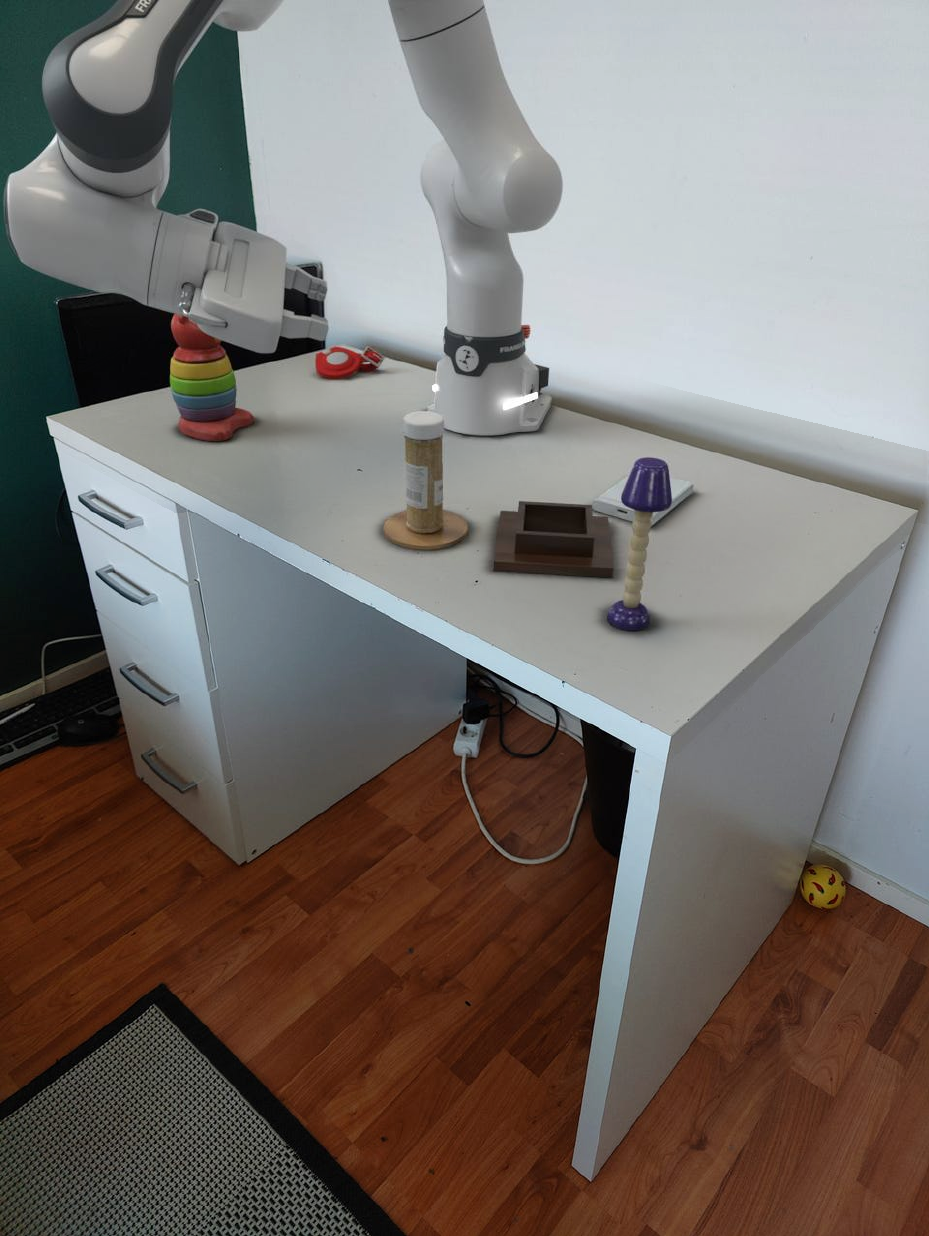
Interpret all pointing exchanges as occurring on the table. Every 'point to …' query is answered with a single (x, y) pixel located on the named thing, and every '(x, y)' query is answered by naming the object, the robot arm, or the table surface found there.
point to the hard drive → (615, 507)
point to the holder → (554, 540)
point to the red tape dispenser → (346, 362)
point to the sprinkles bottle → (424, 471)
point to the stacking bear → (204, 384)
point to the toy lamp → (640, 536)
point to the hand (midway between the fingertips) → (326, 310)
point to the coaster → (443, 538)
